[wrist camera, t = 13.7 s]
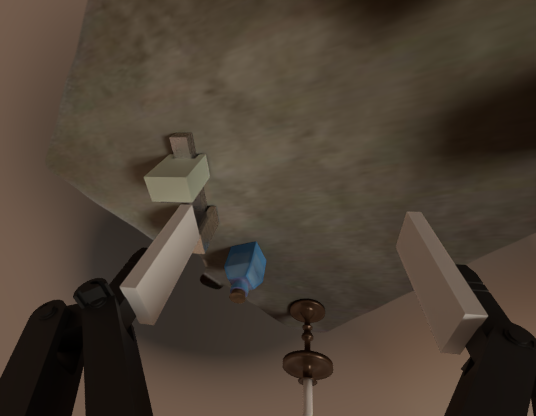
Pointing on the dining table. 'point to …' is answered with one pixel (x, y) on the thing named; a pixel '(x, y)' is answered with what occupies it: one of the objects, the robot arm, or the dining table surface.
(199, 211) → the grey l-shaped piece
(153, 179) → the block
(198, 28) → the dining table surface
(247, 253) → the perfume bottle
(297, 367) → the candlestick
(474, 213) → the dining table surface
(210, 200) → the dining table surface
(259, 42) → the dining table surface
